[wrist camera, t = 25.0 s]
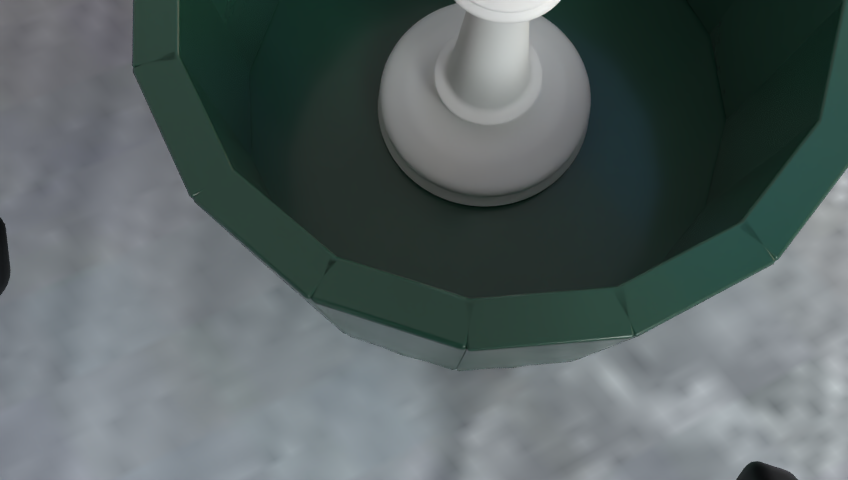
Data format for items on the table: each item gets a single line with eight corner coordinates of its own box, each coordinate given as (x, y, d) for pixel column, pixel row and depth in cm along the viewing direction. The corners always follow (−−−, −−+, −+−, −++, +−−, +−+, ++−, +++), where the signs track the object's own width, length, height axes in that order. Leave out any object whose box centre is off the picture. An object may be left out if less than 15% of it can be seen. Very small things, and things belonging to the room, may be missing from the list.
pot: (679, 445, 16) (807, 461, 10) (142, 271, 17) (4, 203, 11) (792, -45, 18) (938, -233, 13) (326, -168, 19) (285, -389, 14)
